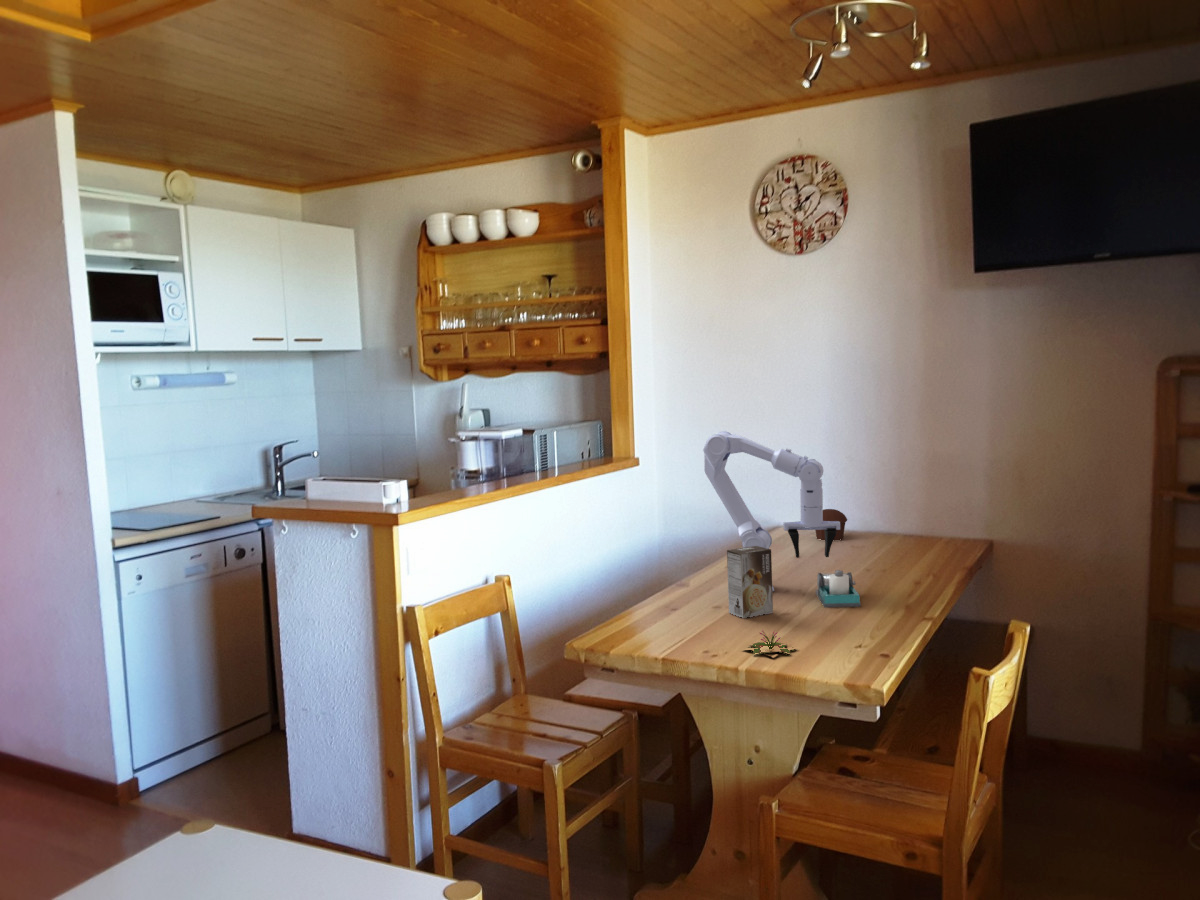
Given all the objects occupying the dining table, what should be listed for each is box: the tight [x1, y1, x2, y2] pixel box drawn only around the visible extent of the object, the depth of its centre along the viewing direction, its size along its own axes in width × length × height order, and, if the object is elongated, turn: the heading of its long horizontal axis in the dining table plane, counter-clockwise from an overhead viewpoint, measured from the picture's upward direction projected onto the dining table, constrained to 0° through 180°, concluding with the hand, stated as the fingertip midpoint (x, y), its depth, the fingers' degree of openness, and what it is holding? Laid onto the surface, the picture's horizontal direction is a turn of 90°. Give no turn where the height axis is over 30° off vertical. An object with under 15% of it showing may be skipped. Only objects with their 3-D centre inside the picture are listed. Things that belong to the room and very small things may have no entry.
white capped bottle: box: [829, 569, 849, 595], centre depth 243 cm, size 5×5×7 cm
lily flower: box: [747, 630, 794, 655], centre depth 207 cm, size 12×12×5 cm
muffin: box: [814, 508, 848, 541], centre depth 326 cm, size 12×11×10 cm
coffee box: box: [726, 546, 774, 619], centre depth 236 cm, size 9×6×16 cm
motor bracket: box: [815, 571, 862, 608], centre depth 246 cm, size 10×14×6 cm
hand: (812, 556), depth 255 cm, fingers open, 7 cm apart
